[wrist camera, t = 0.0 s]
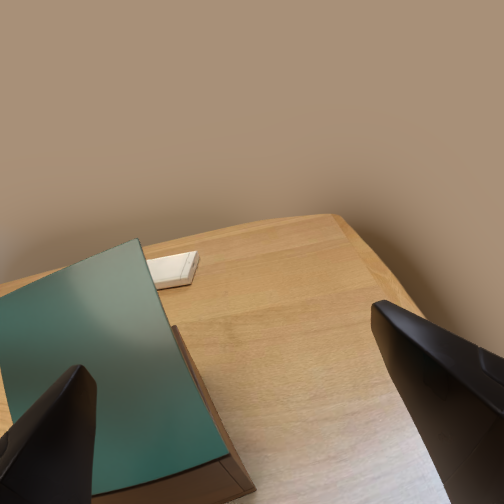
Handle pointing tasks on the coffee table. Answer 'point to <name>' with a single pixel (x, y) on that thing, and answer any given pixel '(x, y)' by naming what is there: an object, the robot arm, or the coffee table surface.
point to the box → (191, 469)
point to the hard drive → (173, 269)
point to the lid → (110, 365)
